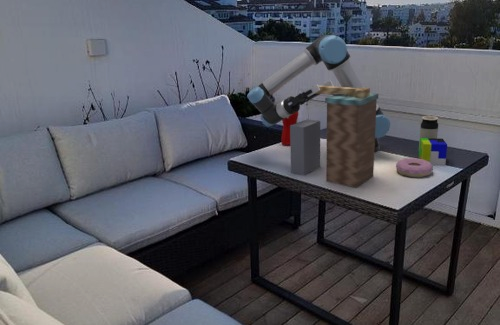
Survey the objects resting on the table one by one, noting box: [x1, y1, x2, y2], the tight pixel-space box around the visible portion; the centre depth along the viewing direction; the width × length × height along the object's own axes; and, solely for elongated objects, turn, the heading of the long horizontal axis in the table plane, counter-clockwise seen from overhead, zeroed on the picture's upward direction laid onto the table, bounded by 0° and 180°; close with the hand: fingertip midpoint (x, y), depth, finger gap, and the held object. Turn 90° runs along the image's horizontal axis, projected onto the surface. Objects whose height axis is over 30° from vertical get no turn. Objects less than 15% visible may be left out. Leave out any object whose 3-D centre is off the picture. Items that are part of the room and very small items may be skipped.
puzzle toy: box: [418, 137, 448, 166], centre depth 204 cm, size 10×10×10 cm
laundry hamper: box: [324, 92, 380, 189], centre depth 184 cm, size 15×17×37 cm
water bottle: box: [281, 111, 299, 147], centre depth 242 cm, size 9×11×25 cm
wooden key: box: [311, 84, 371, 98], centre depth 182 cm, size 24×7×3 cm, turn 50°
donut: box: [395, 157, 434, 178], centre depth 193 cm, size 16×15×5 cm
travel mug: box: [418, 115, 439, 148], centre depth 215 cm, size 8×8×18 cm
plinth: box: [290, 118, 321, 176], centre depth 200 cm, size 7×14×22 cm, turn 140°
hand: (325, 85), depth 185 cm, fingers open, 10 cm apart
